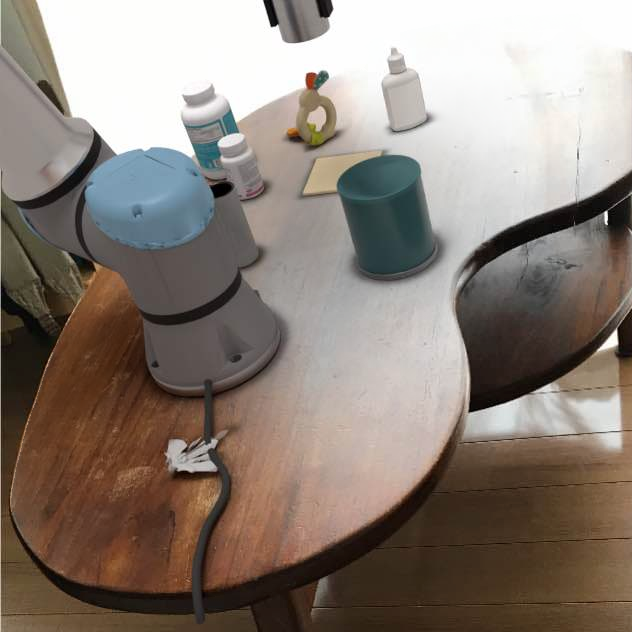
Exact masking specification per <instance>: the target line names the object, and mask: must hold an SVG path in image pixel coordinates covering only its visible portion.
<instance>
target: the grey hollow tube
mask: <svg viewBox="0 0 632 632" xmlns="http://www.w3.org/2000/svg"><path fill="white" fill-rule="evenodd" d="M208 185H209V186H210V188H211V191H212V193H213V196H214V203H215V205H216V208H217V211H218V213H219V216H220V219H221V221H222V224H223V227H224V229H225V232H226V235H227V237H228V240H229V243H230V245H231V248H232V251H233V253H234V256H235V259H236V261H237V264H238V267H239V269H242V268H245V267H247V266H249V265H251V264H253V263H254V262H255V261H256V260H257V259H258V257H259V255H260V254H259V253H260V252H259V249H258V247H257V243H256V241H255V238H254V236H253V233H252V229H251V227H250V224H249V222H248V219H247V216H246V213H245V210H244V207H243V204H242V202H241V200H240V199H239V196H238V193H237V191H236V188H235V185H234V184H233V183H232V182H230V181H228V180H220V181H215V182H213V183H211V184H208Z"/></svg>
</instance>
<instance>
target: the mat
mask: <svg viewBox="0 0 632 632" xmlns="http://www.w3.org/2000/svg"><path fill="white" fill-rule="evenodd" d="M382 154H383V150H382V149H381V150H380V149H379V150H373V151H365V152H357V153H348V154H343V155H342V154H340V155H333V156H325V157H317V158H316V159H315V162H314V164H313V167H312V169H311V172H310V174H309V177H308V179H307V181H306V184H305V186H304V189H303V191H302V196H303V197H306V196H314V195H316V196H317V195H324V194H325V195H326V194H331V193H332V194H333V193H338V191H337V181H338V179H339V177H340V176H341V175H342V174H343V173H344V172H345V171H346V170H347V169H349V168H350V167H352V166H353V165H355V164H357V163H359V162H361V161H364V160H367V159H370V158H373V157H377V156H383V155H382Z"/></svg>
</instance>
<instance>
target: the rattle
mask: <svg viewBox="0 0 632 632" xmlns="http://www.w3.org/2000/svg"><path fill="white" fill-rule="evenodd" d="M329 79H330V74H329V72H328V70H324V69H321V70H319V72H318V73H316V72H313V71H310V72H309V71H308V72H307V73H306V74H305V80H304V81H305V86H306V88H304V90H303V91H301V93H300V95H299V98H298V103H299V108H298V111H297V112H296V113H297V114H296V119H295V122H296V123H295V127H291V128H288V129H287V131H286V133H285V134H286V136H288V137H291V138H292V137H300V138H301V139H302V140H303V141H304V142H305V144H306V145H310V146H320V145H322V144H323V143H324V142H325V141H327V140H328V139H330V138H333V137H334V135H335V133H336V126H337V118H338V117H337V116H338V115H337V110H336V106H335V104H334V102H333V101H332V100H331V99H330V98H329V97H327V96H325V95H322V94H321V95H320V93H319V92H318V91H319V89H321V87H323V85H324V84H326V82H327V81H328V80H329ZM319 107H322V108H323V109H324V111H325V122H324V123H323V124H322V126H321V129H320V130H319V131H317V130H316V129H317V128H316V127H317V126H316V123H310V122H308V119H309V115H310V113H312V112H315V111H317V110H318V109H319Z"/></svg>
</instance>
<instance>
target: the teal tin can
mask: <svg viewBox="0 0 632 632" xmlns="http://www.w3.org/2000/svg"><path fill="white" fill-rule="evenodd" d="M424 187H425V186H424V183H423V178H422V168H421V165H420V163H419V162H418V161H417V160H416V159H415V158H413V157H411V156H407V155H405V154H404V155H403V154H384V155H381V156H377V157H373V158H370V159H367V160H364V161H361V162H359V163H357V164H355V165H353V166H352V167H350V168H349V169H347V170H346V171H345V172H344V173H343V174H342V175H341V176H340V177H339V179H338V181H337V191H338V192H337V194H338V195H339V198H340V202H341V206H342V209H343V213H344V217H345V220H346V224H347V228H348V230H349V234H350V238H351V241H352V246H353V249H354V253H355V262H356V266H357V269H358V270H359V272H360V273H361V274H362V275H364V276H365V277H367V278H369V279H372V280H378V281H393V280H394V281H395V280H400V279H404V278H409V277H411V276H413V275H414V276H415V274H417V273H420V272H422V271H423V270H424V269H426V268H428V267H429V266H430V265H431V264H432V263H433V262H434V260H435V259H436V257H437V255H438V252H439V251H438V249H439V248H438V243H437V239H436V237H435V236H434V231H433V227H432V222H431V217H430V213H429V212H430V211H429V207H428V202H427V197H426V192H425V188H424Z"/></svg>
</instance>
